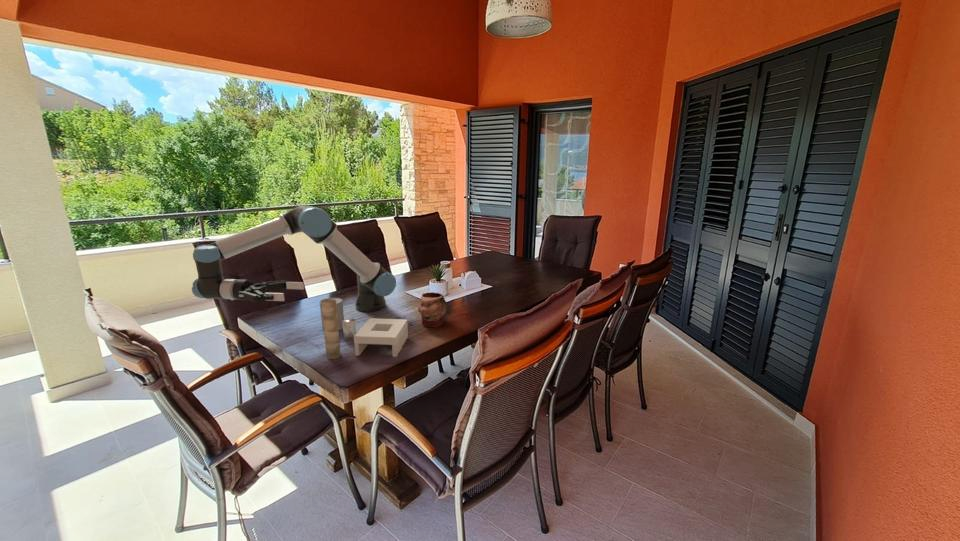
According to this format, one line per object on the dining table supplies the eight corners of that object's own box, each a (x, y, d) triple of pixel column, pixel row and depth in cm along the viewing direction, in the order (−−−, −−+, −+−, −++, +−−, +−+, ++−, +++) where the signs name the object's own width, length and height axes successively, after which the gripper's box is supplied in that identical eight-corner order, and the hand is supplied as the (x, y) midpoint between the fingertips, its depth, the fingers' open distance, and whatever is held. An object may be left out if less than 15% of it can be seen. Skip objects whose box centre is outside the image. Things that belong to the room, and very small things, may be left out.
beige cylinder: (349, 324, 175) (347, 299, 172) (335, 332, 167) (332, 305, 163) (332, 321, 178) (329, 296, 175) (317, 329, 170) (314, 303, 166)
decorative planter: (428, 313, 189) (427, 286, 186) (452, 315, 187) (451, 288, 183) (413, 329, 170) (412, 300, 167) (439, 332, 168) (439, 302, 165)
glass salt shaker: (346, 335, 164) (345, 318, 162) (358, 335, 163) (356, 318, 161) (341, 340, 159) (340, 322, 157) (353, 340, 159) (352, 322, 157)
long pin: (330, 352, 148) (325, 298, 143) (342, 353, 148) (338, 299, 142) (324, 358, 143) (318, 303, 138) (337, 359, 143) (332, 303, 138)
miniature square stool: (371, 335, 164) (369, 318, 162) (407, 337, 163) (407, 319, 161) (355, 355, 146) (353, 336, 144) (396, 356, 145) (395, 337, 143)
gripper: (260, 289, 154) (311, 290, 153) (215, 310, 130) (275, 313, 129) (257, 271, 152) (309, 272, 151) (211, 289, 128) (272, 291, 127)
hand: (294, 291), depth 140 cm, fingers open, 13 cm apart
